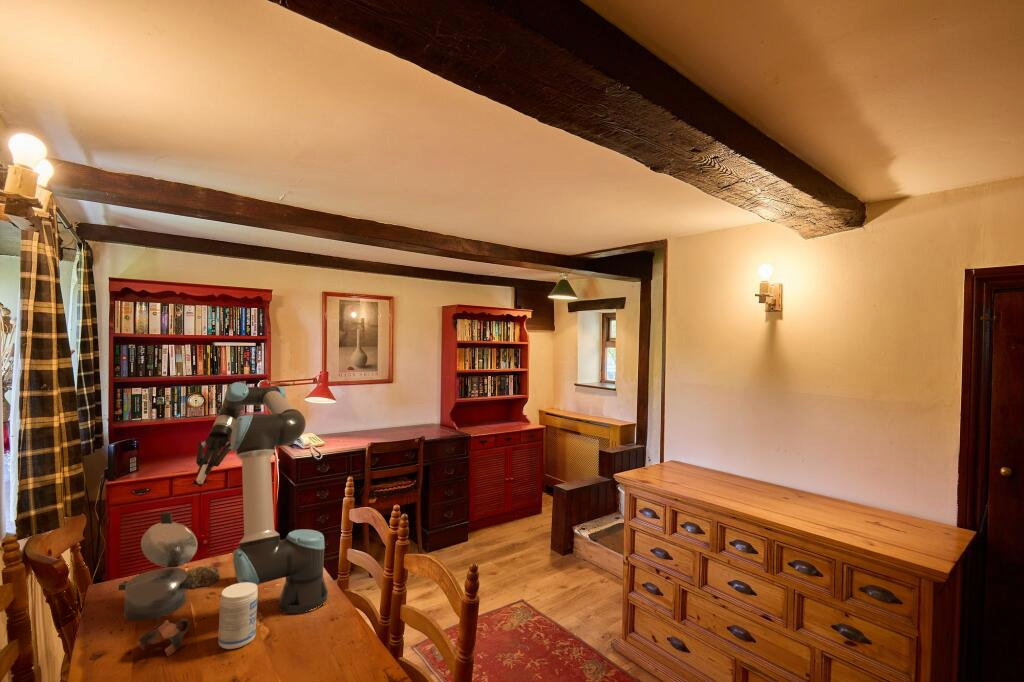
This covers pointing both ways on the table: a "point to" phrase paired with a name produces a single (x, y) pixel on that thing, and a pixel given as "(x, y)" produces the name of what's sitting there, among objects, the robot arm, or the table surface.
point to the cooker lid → (169, 543)
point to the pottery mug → (167, 635)
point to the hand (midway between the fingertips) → (199, 482)
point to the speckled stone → (203, 576)
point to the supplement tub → (237, 615)
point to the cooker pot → (155, 593)
